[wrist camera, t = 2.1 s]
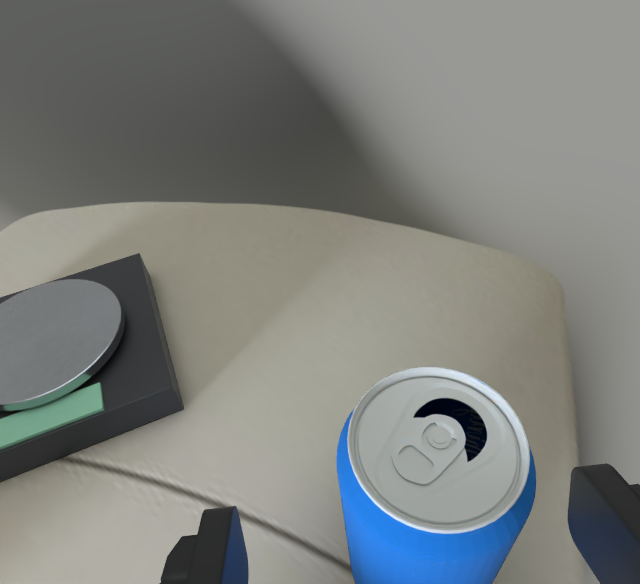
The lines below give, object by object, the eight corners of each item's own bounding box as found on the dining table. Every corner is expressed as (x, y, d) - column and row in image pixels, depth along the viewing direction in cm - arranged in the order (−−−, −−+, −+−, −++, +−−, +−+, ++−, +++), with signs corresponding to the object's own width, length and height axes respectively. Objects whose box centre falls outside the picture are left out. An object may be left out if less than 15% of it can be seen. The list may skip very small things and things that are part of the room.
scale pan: (17, 285, 37) (12, 277, 36) (148, 288, 35) (144, 280, 35) (-77, 406, 30) (-86, 399, 29) (82, 417, 28) (75, 409, 28)
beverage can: (514, 562, 24) (587, 438, 15) (426, 678, 21) (456, 605, 12) (410, 469, 27) (422, 328, 19) (323, 557, 24) (292, 437, 16)
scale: (184, 409, 31) (171, 384, 29) (-54, 503, 28) (-87, 482, 26) (149, 275, 41) (138, 250, 39) (-32, 335, 38) (-55, 311, 36)
